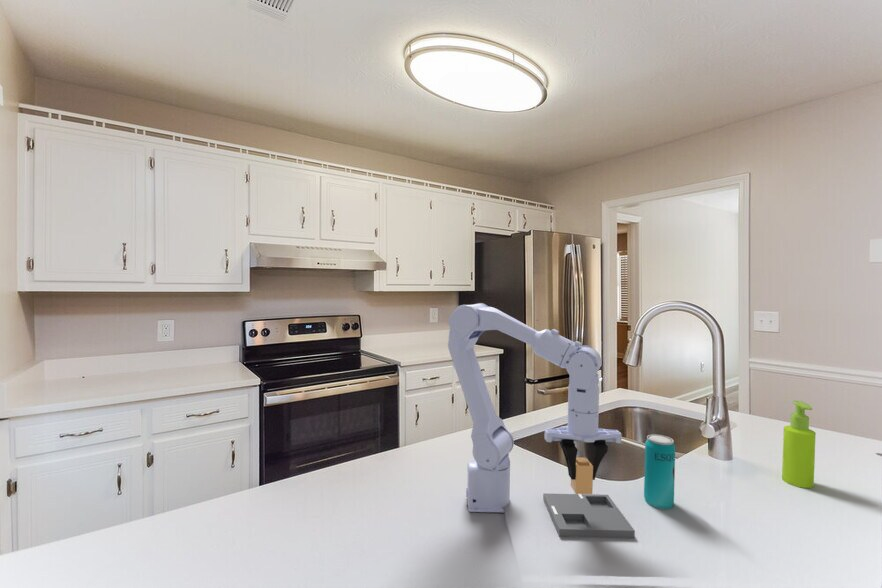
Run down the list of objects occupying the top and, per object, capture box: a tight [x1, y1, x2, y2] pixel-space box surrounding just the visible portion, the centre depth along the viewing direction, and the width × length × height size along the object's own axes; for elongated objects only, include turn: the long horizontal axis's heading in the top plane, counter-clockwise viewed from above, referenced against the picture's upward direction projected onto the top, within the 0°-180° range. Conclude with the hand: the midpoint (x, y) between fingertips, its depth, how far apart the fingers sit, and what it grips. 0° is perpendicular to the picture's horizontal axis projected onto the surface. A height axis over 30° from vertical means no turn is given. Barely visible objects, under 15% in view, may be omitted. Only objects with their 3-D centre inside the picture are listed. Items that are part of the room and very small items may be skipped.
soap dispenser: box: [781, 400, 817, 489], centre depth 100 cm, size 6×7×20 cm
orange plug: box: [570, 457, 594, 494], centre depth 81 cm, size 3×3×6 cm
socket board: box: [542, 493, 636, 539], centre depth 84 cm, size 14×14×2 cm
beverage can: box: [643, 433, 676, 510], centre depth 89 cm, size 6×6×15 cm
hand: (581, 477), depth 81 cm, fingers closed on orange plug, 3 cm apart
